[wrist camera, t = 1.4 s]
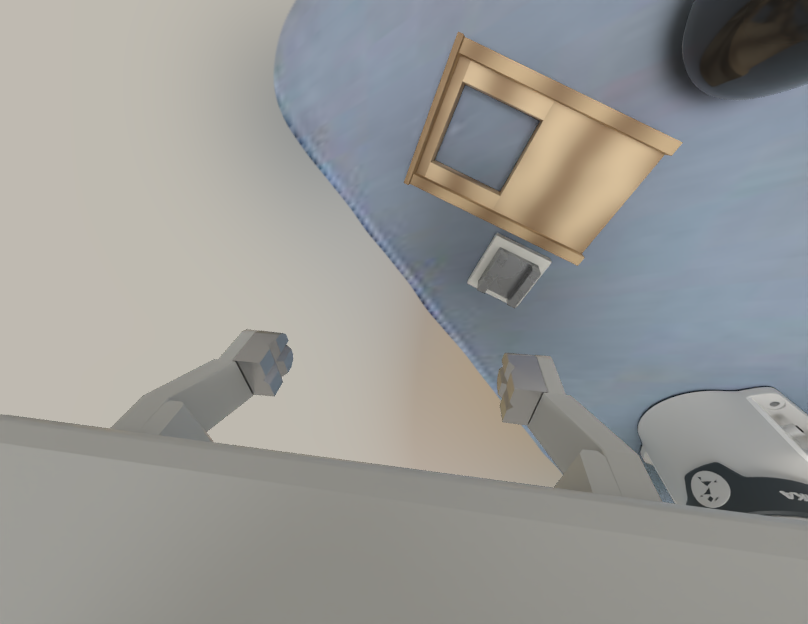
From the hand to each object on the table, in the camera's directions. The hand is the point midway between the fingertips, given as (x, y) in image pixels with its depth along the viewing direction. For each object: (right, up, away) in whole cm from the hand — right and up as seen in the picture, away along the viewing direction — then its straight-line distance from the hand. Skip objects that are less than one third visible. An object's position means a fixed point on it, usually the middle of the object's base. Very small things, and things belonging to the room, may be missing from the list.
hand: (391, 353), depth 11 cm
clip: (+13, +6, +24) cm, 28 cm away
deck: (+13, +17, +19) cm, 29 cm away
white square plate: (+13, +7, +25) cm, 29 cm away
